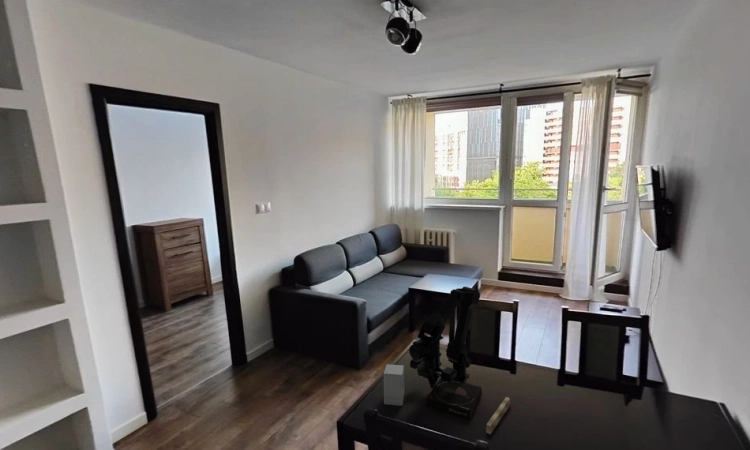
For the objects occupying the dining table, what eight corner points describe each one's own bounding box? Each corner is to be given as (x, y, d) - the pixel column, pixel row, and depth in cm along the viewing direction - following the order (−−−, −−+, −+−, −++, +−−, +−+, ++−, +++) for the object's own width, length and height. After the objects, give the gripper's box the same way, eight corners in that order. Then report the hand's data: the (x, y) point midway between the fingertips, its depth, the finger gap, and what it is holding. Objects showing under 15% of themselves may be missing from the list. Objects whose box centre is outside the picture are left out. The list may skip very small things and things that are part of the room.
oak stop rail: (506, 404, 133) (506, 396, 132) (509, 405, 132) (509, 398, 131) (486, 432, 118) (486, 424, 118) (490, 434, 117) (490, 426, 117)
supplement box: (402, 406, 133) (402, 375, 132) (383, 404, 135) (382, 373, 133) (405, 394, 140) (404, 365, 139) (386, 393, 142) (386, 363, 140)
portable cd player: (481, 395, 139) (481, 386, 139) (470, 421, 125) (470, 411, 124) (441, 384, 147) (441, 375, 147) (426, 407, 133) (426, 398, 132)
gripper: (401, 352, 140) (402, 388, 142) (443, 367, 128) (443, 407, 130) (417, 342, 148) (417, 376, 150) (457, 355, 136) (457, 393, 138)
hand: (432, 388), depth 142 cm, fingers closed
